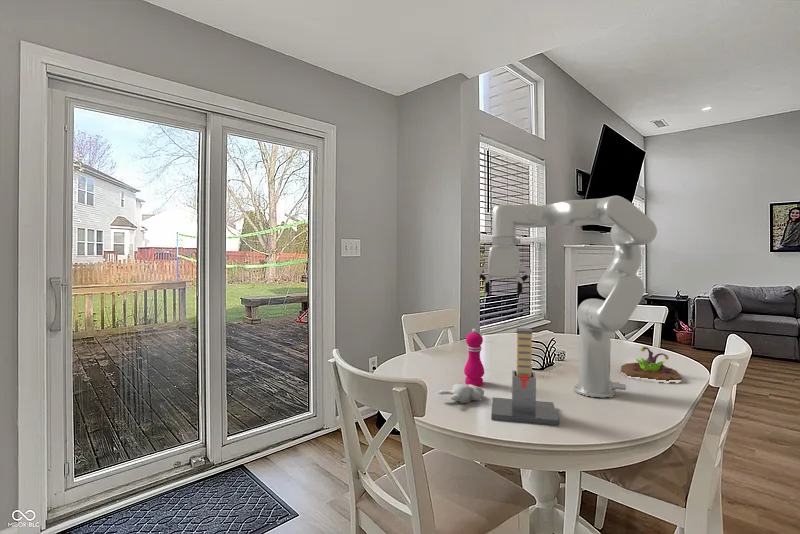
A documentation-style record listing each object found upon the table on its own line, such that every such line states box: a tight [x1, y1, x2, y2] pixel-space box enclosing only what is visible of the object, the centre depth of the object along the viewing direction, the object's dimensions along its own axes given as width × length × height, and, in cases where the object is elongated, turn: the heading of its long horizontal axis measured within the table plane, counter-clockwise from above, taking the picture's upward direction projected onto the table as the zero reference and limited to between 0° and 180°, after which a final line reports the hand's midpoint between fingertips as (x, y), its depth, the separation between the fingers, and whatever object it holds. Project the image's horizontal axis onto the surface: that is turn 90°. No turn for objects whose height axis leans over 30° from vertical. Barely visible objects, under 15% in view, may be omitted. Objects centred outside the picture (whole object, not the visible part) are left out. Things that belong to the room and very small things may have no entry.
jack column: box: [515, 327, 533, 377], centre depth 123 cm, size 4×4×17 cm
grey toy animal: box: [438, 383, 485, 404], centre depth 134 cm, size 10×5×15 cm
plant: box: [620, 346, 683, 381], centre depth 162 cm, size 20×20×11 cm
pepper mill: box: [463, 328, 485, 387], centre depth 151 cm, size 7×7×20 cm
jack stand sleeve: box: [490, 370, 560, 427], centre depth 124 cm, size 18×14×12 cm
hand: (503, 294), depth 138 cm, fingers open, 9 cm apart
